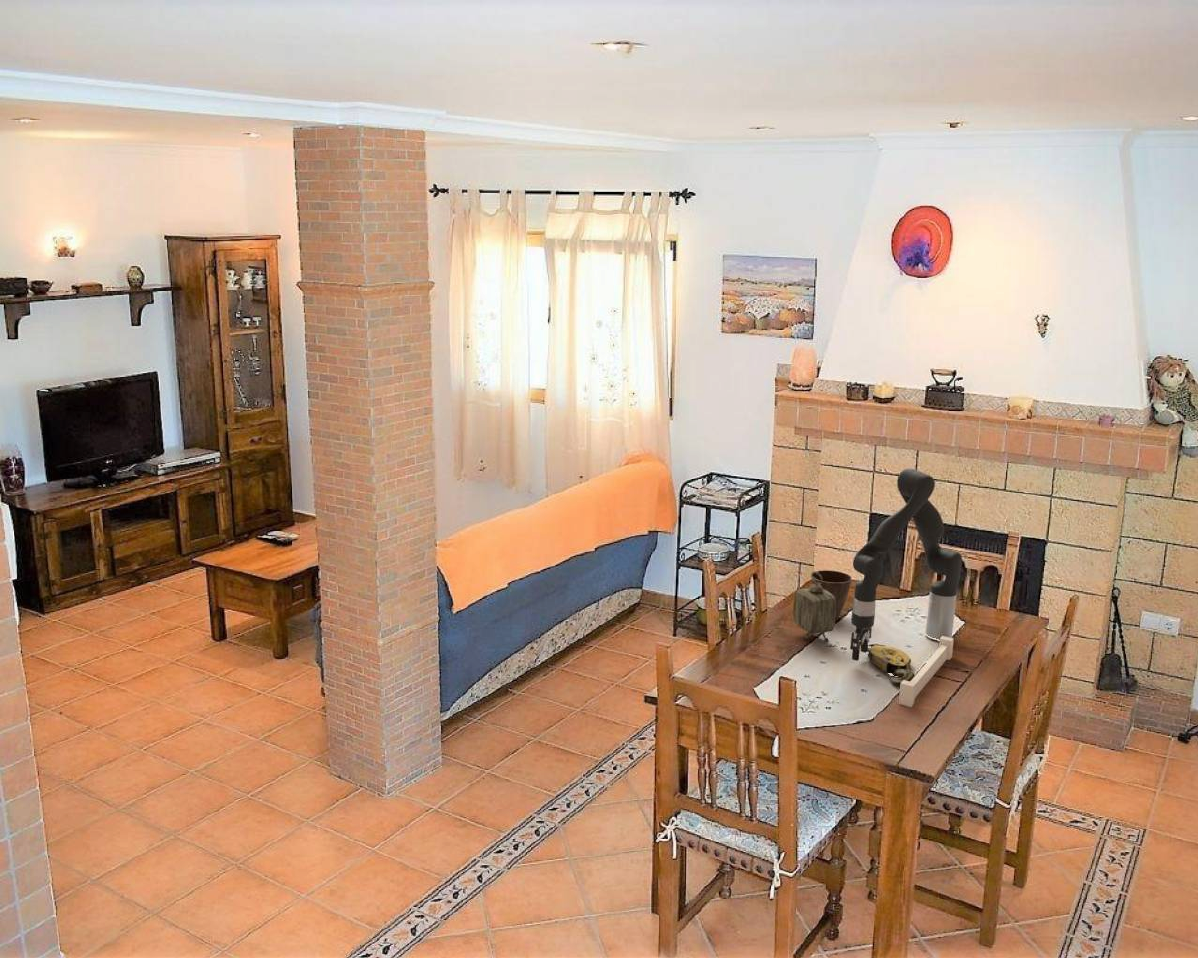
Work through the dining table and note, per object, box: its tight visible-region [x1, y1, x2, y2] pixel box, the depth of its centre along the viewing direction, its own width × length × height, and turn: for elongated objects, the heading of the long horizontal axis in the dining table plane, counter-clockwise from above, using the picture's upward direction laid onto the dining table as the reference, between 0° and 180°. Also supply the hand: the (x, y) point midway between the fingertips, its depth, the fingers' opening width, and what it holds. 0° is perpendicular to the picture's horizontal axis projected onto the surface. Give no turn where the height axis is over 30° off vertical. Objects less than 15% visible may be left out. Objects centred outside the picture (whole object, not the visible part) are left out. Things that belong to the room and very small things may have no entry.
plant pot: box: [811, 570, 852, 620], centre depth 416 cm, size 15×15×16 cm
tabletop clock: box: [792, 570, 836, 643], centre depth 392 cm, size 14×9×25 cm, turn 22°
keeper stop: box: [898, 636, 955, 708], centre depth 362 cm, size 48×4×7 cm, turn 148°
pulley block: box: [866, 643, 916, 687], centre depth 368 cm, size 14×6×30 cm
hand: (859, 655), depth 374 cm, fingers open, 8 cm apart
